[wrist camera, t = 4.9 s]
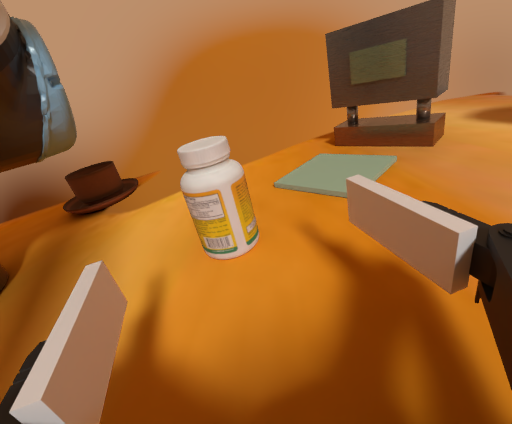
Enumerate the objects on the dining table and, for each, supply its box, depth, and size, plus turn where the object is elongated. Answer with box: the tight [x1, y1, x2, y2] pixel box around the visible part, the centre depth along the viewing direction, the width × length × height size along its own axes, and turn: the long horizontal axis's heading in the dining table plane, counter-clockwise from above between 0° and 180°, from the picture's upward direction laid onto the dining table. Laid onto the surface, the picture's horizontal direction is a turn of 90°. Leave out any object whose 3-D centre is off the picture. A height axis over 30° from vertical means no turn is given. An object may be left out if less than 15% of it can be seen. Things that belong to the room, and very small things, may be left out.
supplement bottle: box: [177, 136, 259, 260], centre depth 23 cm, size 5×5×10 cm
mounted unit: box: [325, 0, 456, 146], centre depth 37 cm, size 14×5×16 cm, turn 47°
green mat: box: [274, 154, 397, 198], centre depth 34 cm, size 11×11×1 cm
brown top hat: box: [63, 161, 138, 214], centre depth 45 cm, size 12×12×6 cm
